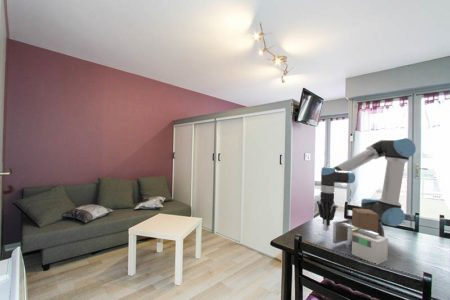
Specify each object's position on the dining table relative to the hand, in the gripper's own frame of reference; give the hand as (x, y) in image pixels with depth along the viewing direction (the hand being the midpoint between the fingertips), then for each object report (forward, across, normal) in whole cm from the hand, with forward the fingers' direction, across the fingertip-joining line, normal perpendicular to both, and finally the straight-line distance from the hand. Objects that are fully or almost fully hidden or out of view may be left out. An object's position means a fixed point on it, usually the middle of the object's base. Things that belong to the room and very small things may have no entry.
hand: (326, 230), depth 129 cm
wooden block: (+6, +15, +13) cm, 21 cm away
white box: (+5, +24, 0) cm, 25 cm away
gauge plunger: (+3, +18, 0) cm, 18 cm away
